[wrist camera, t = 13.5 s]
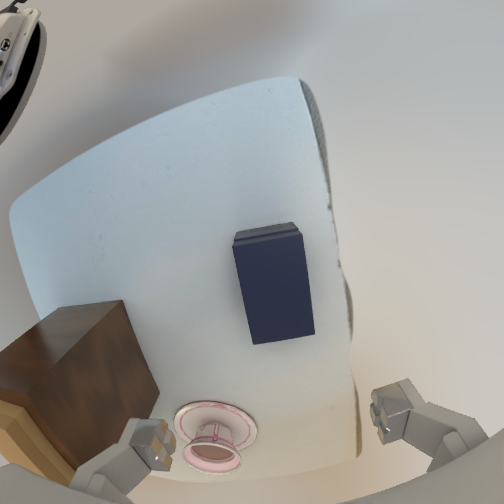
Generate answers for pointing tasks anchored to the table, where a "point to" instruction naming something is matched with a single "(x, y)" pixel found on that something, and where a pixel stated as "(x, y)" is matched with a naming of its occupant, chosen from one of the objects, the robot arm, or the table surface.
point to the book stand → (79, 378)
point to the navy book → (275, 286)
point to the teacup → (214, 436)
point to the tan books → (30, 445)
